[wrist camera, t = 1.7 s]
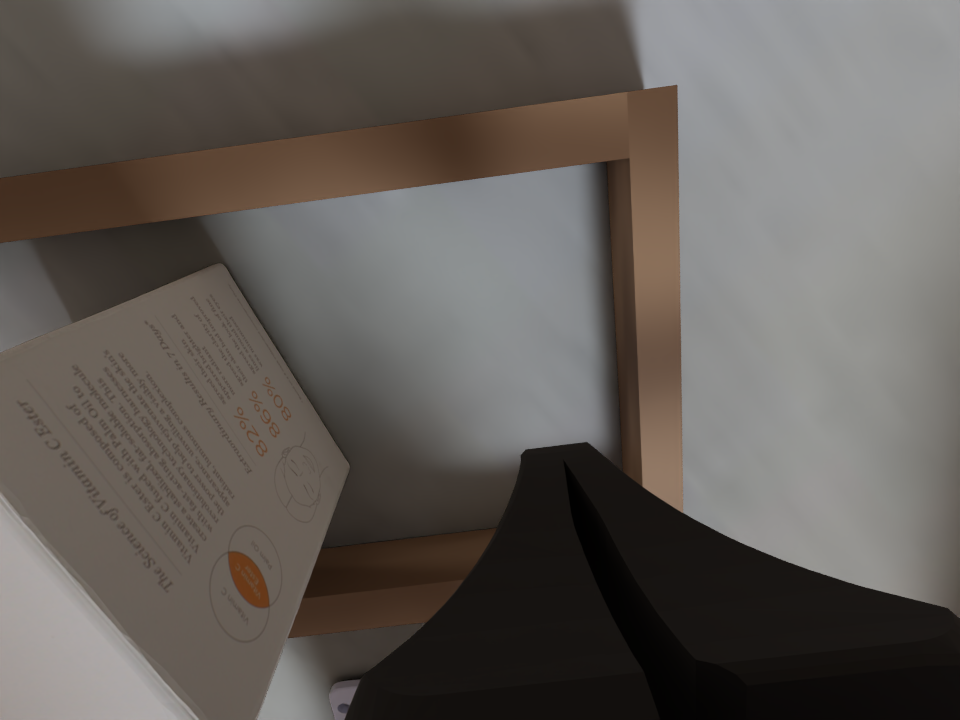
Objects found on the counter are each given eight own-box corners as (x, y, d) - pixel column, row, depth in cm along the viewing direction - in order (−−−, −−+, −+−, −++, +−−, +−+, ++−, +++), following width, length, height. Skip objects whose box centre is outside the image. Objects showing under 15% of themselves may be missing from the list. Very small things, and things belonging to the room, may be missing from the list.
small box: (76, 332, 18) (-423, 543, 8) (228, 256, 17) (-107, 382, 7) (218, 528, 20) (-24, 879, 10) (356, 468, 20) (240, 782, 10)
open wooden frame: (659, 543, 21) (684, 592, 18) (93, 610, 21) (46, 666, 19) (646, 97, 16) (677, 85, 14) (-87, 197, 16) (-180, 203, 14)
